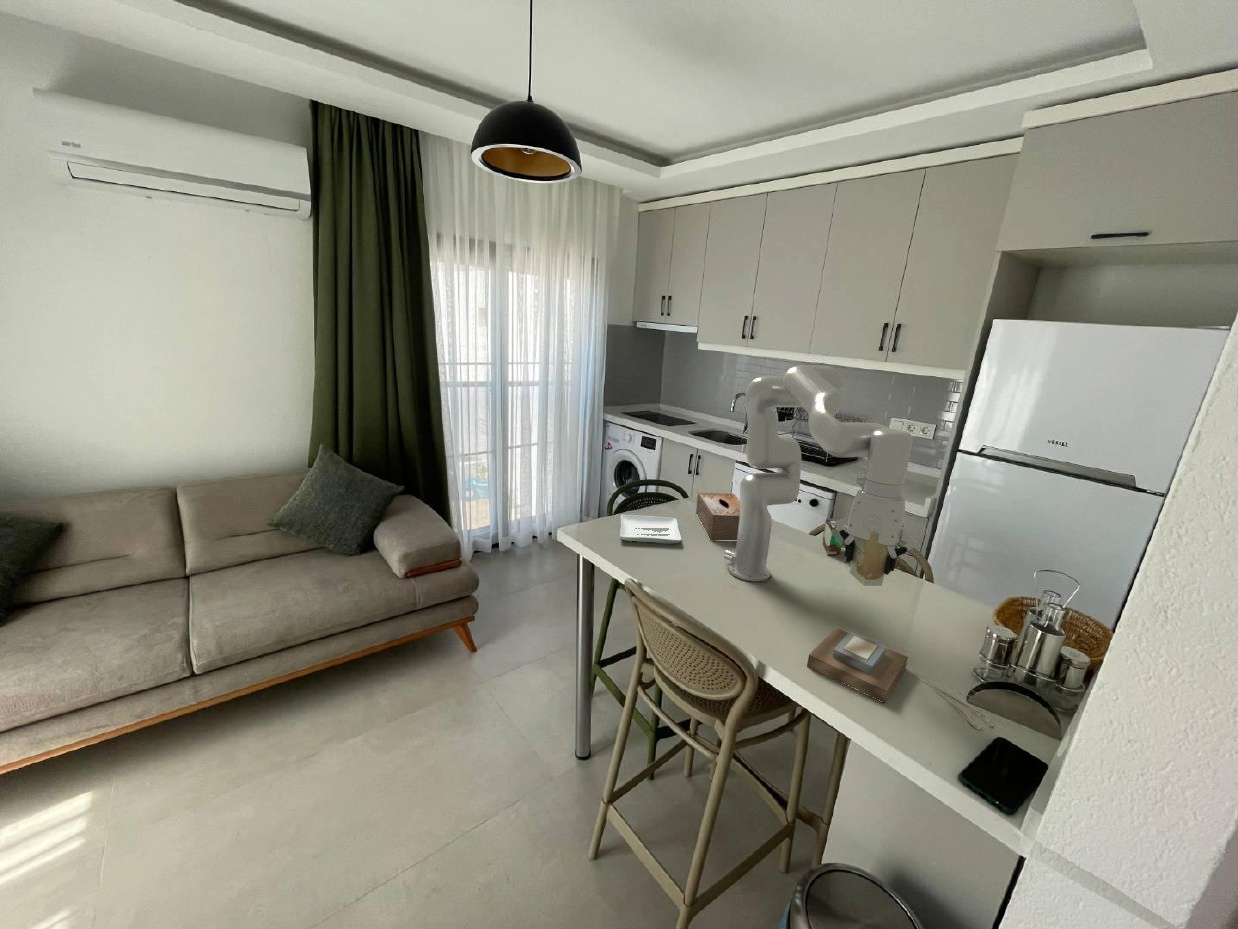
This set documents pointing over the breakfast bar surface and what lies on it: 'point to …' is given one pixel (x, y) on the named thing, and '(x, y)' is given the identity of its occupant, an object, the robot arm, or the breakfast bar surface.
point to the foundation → (858, 663)
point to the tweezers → (962, 706)
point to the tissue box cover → (719, 514)
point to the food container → (832, 538)
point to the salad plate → (640, 522)
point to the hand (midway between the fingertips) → (868, 566)
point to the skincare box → (869, 561)
